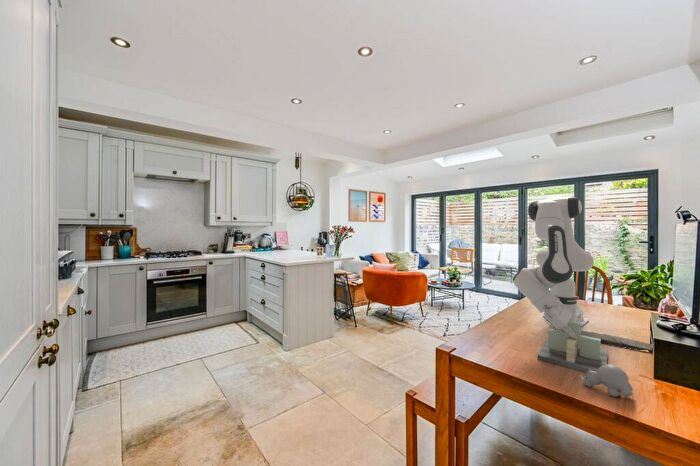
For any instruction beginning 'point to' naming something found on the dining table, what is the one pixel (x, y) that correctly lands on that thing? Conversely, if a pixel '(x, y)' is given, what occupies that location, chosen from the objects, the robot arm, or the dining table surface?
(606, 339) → the stone slab
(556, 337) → the sage slotted plate
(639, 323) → the dining table surface
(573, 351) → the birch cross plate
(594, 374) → the chubby cartoon animal
